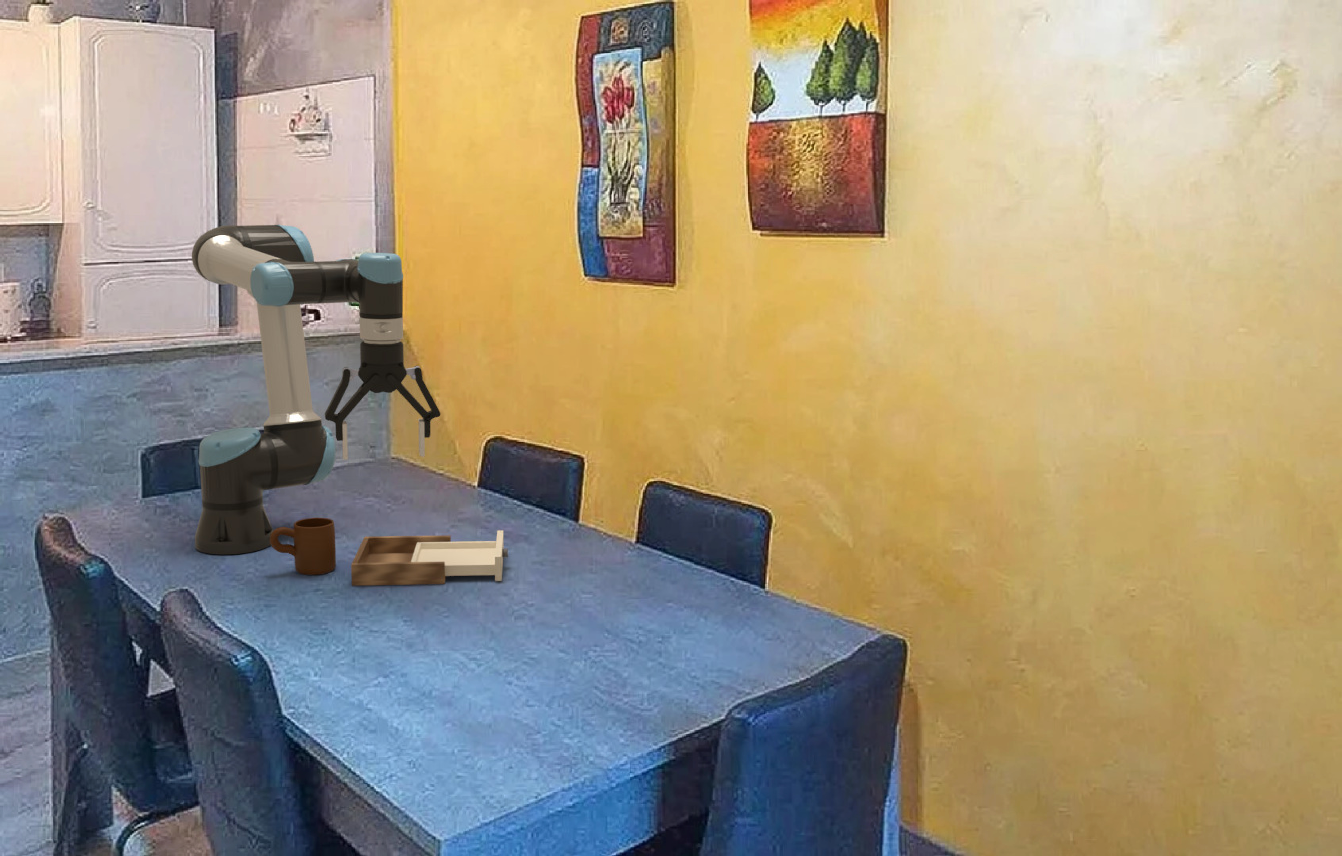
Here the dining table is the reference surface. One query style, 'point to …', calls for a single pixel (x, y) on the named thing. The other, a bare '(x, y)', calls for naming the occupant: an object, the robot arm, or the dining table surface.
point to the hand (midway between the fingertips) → (383, 456)
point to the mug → (309, 545)
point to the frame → (395, 562)
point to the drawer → (465, 556)
